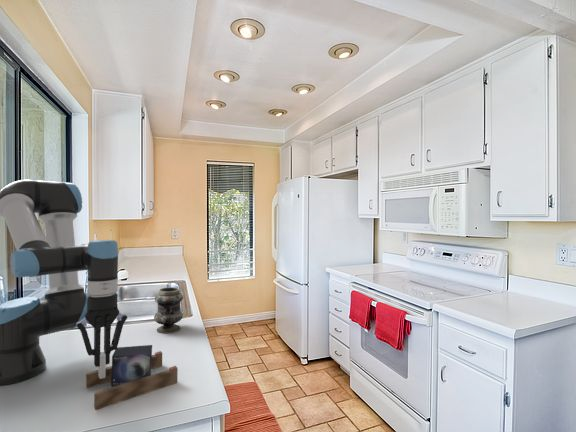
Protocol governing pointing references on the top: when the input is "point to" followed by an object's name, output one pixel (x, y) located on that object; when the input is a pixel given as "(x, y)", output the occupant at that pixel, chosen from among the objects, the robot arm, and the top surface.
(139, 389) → the chute
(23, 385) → the top surface
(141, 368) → the small box
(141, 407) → the top surface
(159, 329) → the apothecary jar
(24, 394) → the top surface
